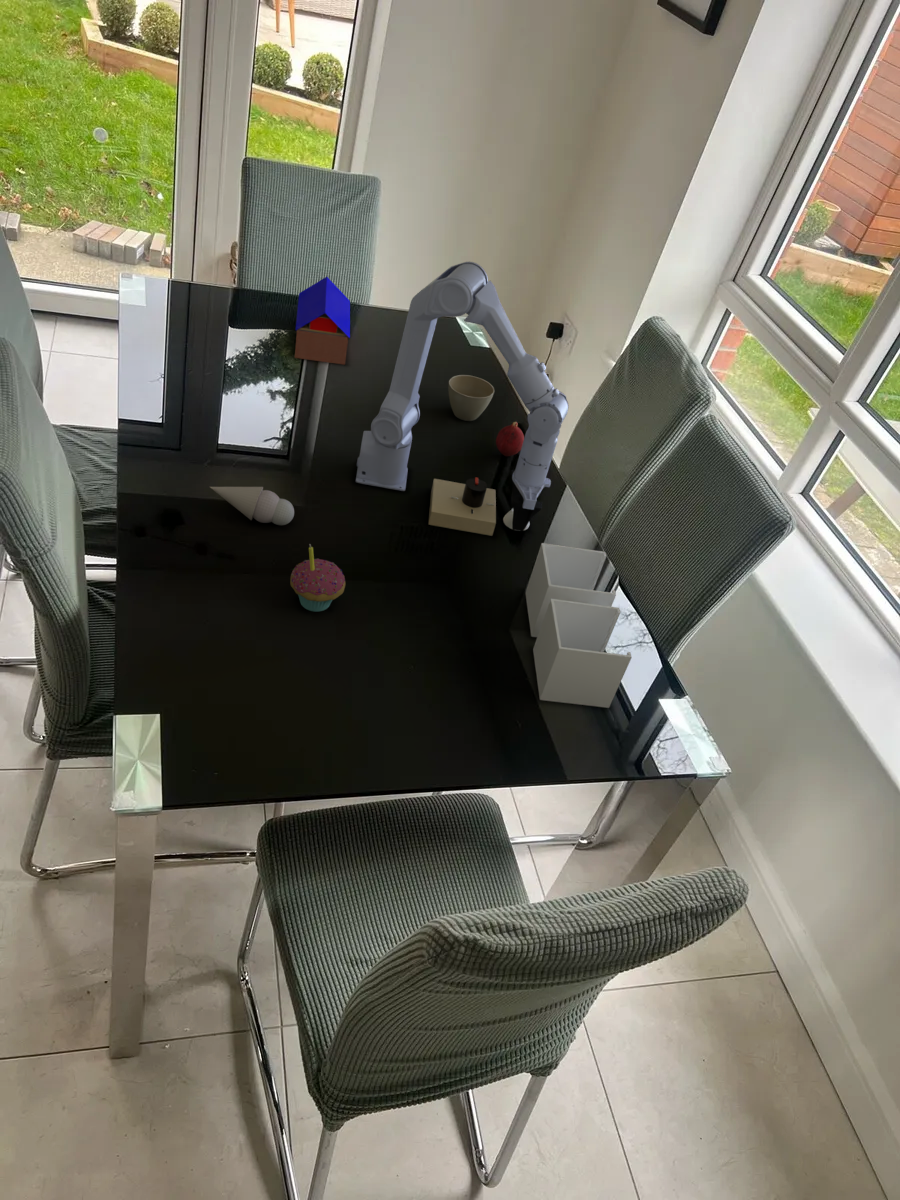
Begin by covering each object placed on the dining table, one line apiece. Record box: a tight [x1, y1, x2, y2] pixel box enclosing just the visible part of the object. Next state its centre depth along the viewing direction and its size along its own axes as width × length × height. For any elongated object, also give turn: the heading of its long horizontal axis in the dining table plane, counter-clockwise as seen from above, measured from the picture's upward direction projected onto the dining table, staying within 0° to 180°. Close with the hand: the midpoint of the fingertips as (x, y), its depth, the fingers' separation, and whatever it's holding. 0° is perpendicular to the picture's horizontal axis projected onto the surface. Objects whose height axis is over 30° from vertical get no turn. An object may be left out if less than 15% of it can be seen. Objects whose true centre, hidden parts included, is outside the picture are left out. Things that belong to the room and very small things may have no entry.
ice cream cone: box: [209, 486, 295, 526], centre depth 156 cm, size 6×6×15 cm
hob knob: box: [462, 477, 488, 508], centre depth 168 cm, size 4×4×4 cm
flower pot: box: [447, 374, 495, 422], centre depth 198 cm, size 10×10×7 cm
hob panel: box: [427, 478, 497, 537], centre depth 171 cm, size 12×11×3 cm
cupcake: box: [289, 543, 346, 612], centre depth 141 cm, size 9×8×12 cm
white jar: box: [502, 507, 531, 532], centre depth 171 cm, size 5×3×5 cm
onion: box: [495, 421, 525, 458], centre depth 188 cm, size 6×6×8 cm
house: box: [294, 276, 351, 366], centre depth 209 cm, size 12×20×12 cm, turn 5°
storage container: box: [525, 542, 632, 709], centre depth 145 cm, size 25×11×11 cm, turn 2°
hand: (517, 518), depth 171 cm, fingers open, 6 cm apart
